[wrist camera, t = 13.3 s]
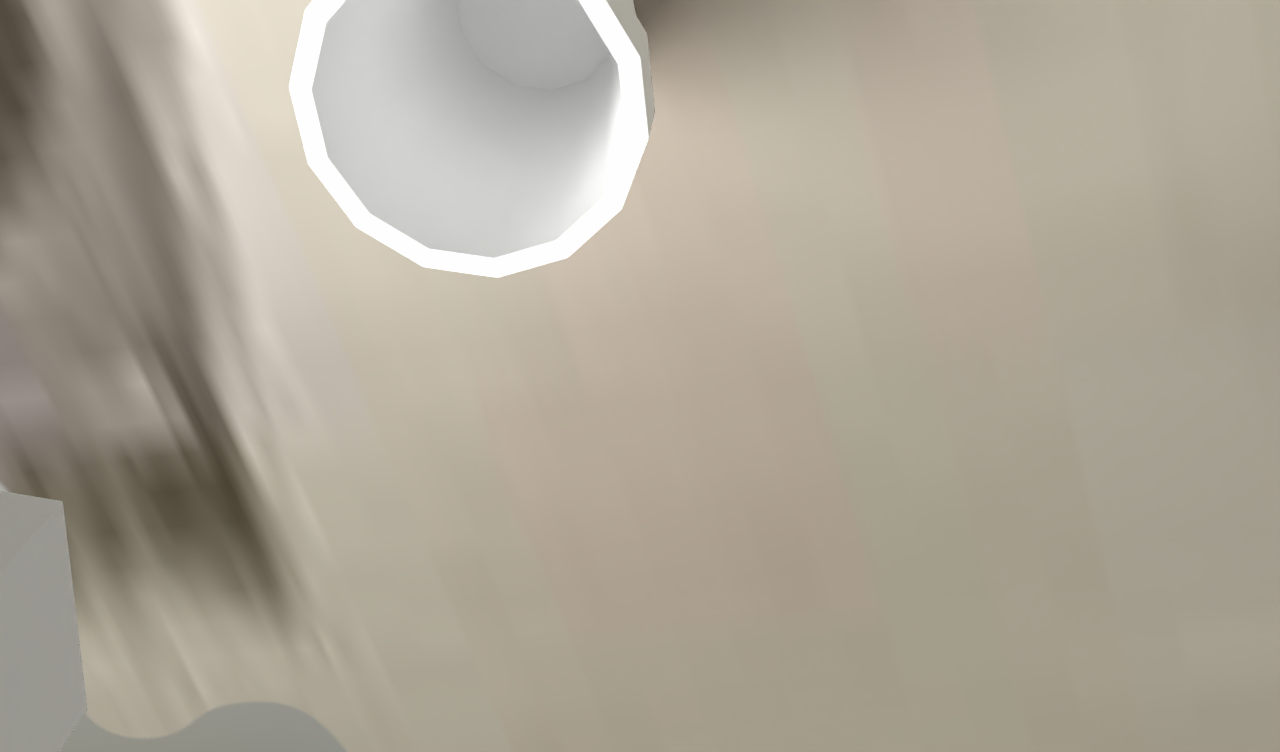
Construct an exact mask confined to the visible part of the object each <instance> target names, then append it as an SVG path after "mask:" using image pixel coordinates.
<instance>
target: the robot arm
mask: <svg viewBox="0 0 1280 752" xmlns="http://www.w3.org/2000/svg"><path fill="white" fill-rule="evenodd" d="M86 711H87V702H86V693H85V685H84V676H83V668H82V660H81V651H80V643H79V635H78V626H77V618H76V609H75V601H74V593H73V584H72V576H71V567H70V559H69V551H68V542H67V534H66V526H65V517H64V509H63V501H57V500H51V499H45V498H39V497H33V496H27V495H21V494H15V493H10V492H4V491H0V752H60V750H61V748H62V747H63V746H64V744H65V743H66V741H67V740H68V738H69V736H70V735H71V733H72V732H73V730H74V729H75V727H76V726H77V724H78V723H79V721H80V720H81V718H82V717H83V715H84V714H85V712H86Z"/></svg>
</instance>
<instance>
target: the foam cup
mask: <svg viewBox="0 0 1280 752" xmlns="http://www.w3.org/2000/svg"><path fill="white" fill-rule="evenodd" d="M289 90H290V94H291V98H292V102H293V106H294V110H295V114H296V118H297V122H298V126H299V130H300V134H301V138H302V142H303V146H304V150H305V154H306V158H307V162H308V165H309V166H310V167H311V169H312V170H313V171H314V173H315V174H316V175H317V177H318V178H319V179H320V180H321V182H322V183H323V184H324V186H325V187H326V188H327V190H328V191H329V192H330V194H331V195H332V196H333V198H334V199H335V200H336V202H337V203H338V204H339V205H340V207H341V208H342V209H343V211H344V212H345V213H346V215H347V216H348V217H349V219H350V220H351V221H352V223H353V224H354V225H355V227H356V228H358V229H360V230H362V231H363V232H365V233H367V234H368V235H370V236H372V237H373V238H375V239H377V240H378V241H380V242H382V243H383V244H385V245H387V246H388V247H390V248H392V249H394V250H395V251H397V252H399V253H400V254H402V255H404V256H405V257H407V258H409V259H410V260H412V261H414V262H415V263H417V264H419V265H420V266H422V267H426V268H433V269H440V270H447V271H454V272H461V273H468V274H475V275H482V276H488V277H495V278H499V277H502V276H506V275H509V274H513V273H516V272H520V271H523V270H527V269H530V268H534V267H537V266H541V265H544V264H548V263H551V262H555V261H558V260H562V259H565V258H568V257H569V256H571V255H572V254H573V253H574V252H575V251H576V250H577V249H578V248H579V247H580V246H582V245H583V244H584V243H585V242H586V241H587V240H588V239H589V238H590V237H592V236H593V235H594V234H595V233H596V232H597V231H598V230H599V229H600V228H601V227H603V226H604V225H605V224H606V223H607V222H608V221H609V220H610V219H611V218H613V217H614V216H615V215H616V214H617V213H618V212H619V211H620V210H621V209H622V208H623V205H624V202H625V200H626V197H627V194H628V192H629V189H630V186H631V184H632V181H633V178H634V176H635V173H636V171H637V168H638V165H639V163H640V160H641V157H642V155H643V152H644V149H645V147H646V144H647V141H648V139H649V135H650V130H651V126H652V122H653V117H654V113H655V107H654V97H653V87H652V77H651V67H650V57H649V47H648V37H647V33H646V31H645V30H644V28H643V26H642V25H641V23H640V21H639V20H638V18H637V16H636V12H635V7H634V2H633V0H313V1H312V2H311V3H310V4H309V5H308V6H307V8H306V9H305V12H304V16H303V21H302V26H301V31H300V35H299V40H298V45H297V50H296V54H295V59H294V64H293V69H292V73H291V78H290V83H289Z"/></svg>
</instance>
